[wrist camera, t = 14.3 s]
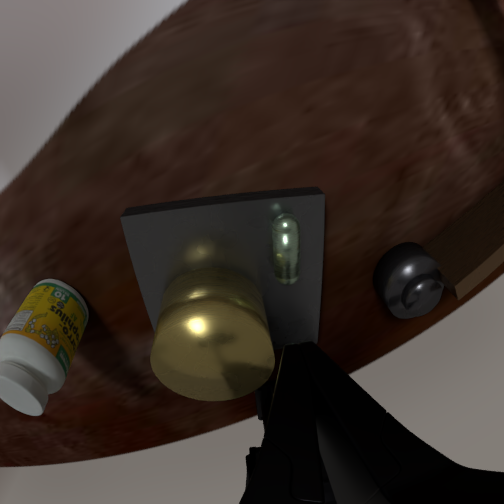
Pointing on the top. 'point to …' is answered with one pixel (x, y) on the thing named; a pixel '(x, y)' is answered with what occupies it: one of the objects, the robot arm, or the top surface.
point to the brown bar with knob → (444, 260)
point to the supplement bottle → (40, 345)
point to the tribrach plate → (233, 249)
